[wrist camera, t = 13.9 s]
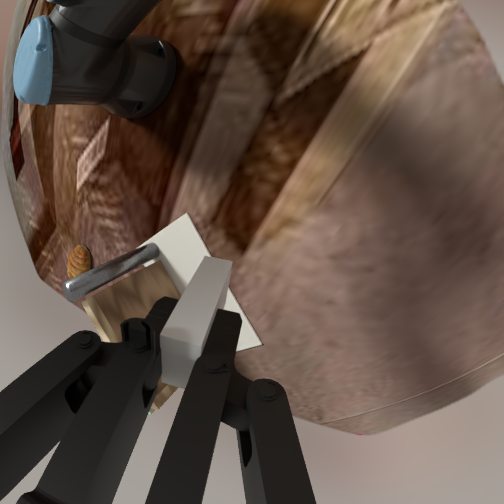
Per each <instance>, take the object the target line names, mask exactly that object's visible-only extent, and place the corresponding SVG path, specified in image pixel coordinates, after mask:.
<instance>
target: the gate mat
mask: <svg viewBox="0 0 504 504" xmlns="http://www.w3.org/2000/svg"><path fill="white" fill-rule="evenodd" d="M151 242H153V243H155V244H156V245H157V246H158V247H159V251H160V254H159V256H158V257H157V258H155V259H153V260H151V261H149V262H147V263H145V264H144V266H145V267H147V266H149V265H151V264H153V263H155V262H156V261H158V260H160V261H161V262H162V264H163V266H164V268H165V270H166V271H167V273H168V275H169V277H170V279H171V280H172V282H173V284H174V286H175V287H176V289H177V291H178V293H179V294H180V296H182V294H183V293H184V291H185V289H186V287H187V286H188V284H189V282H190V280H191V279H192V277H193V275H194V274H195V272H196V270H197V268H198V267H199V265H200V263H201V262H202V260H203V258H204V256H210V257H212V256H211V254H210V252H209V250H208V249H207V247H206V245H205V243H204V241H203V240H202V238H201V236H200V234H199V232H198V231H197V229H196V227H195V225H194V223H193V221H192V219H191V218H190V216H189V214H188V213H186V214H184V215H183V216H181V217H180V218H179V219H177V220H176V221H174V222H173V223H171V224H170V225H169V226H167V227H166V228H164V229H163V230H161V231H160V232H159V233H157V234H156V235H154V236H153V237H152V238H150V239H149V240H148V241H146V242H145V243H143V244H142V245H141V246H139V247H138V248H140V247H142V246H144V245H146V244H149V243H151ZM224 310H228V311H232V312H237V313H240V316H241V318H242V326H241V331H240V335H239V340H238V345H237V349H236V351H240V350H244V349H247V348H251V347H255V346H259V345H262V344H263V343H262V342H261V340H260V339H259V337H258V335H257V334H256V332H255V330H254V328H253V327H252V325H251V323H250V322H249V320H248V318H247V317H246V315H245V313H244V312H243V310H242V308H241V306H240V305H239V303H238V301H237V300H236V298H235V296H234V294H233V293H232V291H231V289H230V288H229V286H228V292H227V298H226V304H225V307H224Z"/></svg>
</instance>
